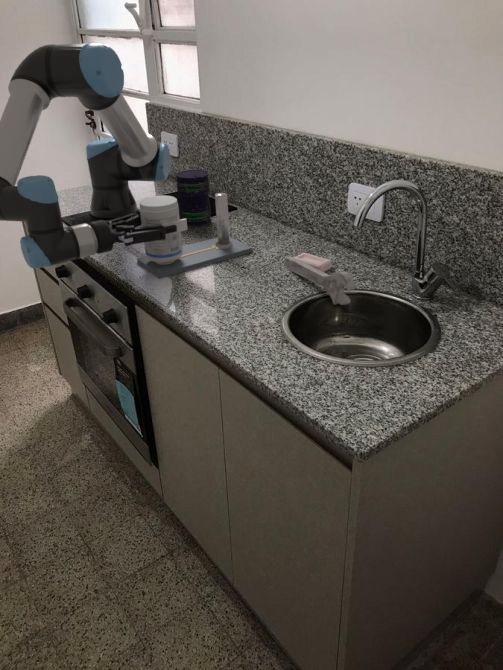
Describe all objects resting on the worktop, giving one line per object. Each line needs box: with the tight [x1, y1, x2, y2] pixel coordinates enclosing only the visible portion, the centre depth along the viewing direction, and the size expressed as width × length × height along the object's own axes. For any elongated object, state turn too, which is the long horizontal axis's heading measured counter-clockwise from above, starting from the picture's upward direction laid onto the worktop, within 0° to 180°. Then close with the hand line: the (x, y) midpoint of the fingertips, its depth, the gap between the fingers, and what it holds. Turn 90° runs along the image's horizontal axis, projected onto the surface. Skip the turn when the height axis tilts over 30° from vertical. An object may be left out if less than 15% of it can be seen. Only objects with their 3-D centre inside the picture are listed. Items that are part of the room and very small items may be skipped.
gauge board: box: [136, 235, 253, 279], centre depth 148 cm, size 13×28×1 cm, turn 125°
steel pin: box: [214, 192, 232, 248], centre depth 149 cm, size 5×5×14 cm
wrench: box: [284, 256, 356, 306], centre depth 128 cm, size 8×2×30 cm
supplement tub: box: [138, 194, 183, 262], centre depth 139 cm, size 10×10×15 cm
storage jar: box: [175, 169, 212, 228], centre depth 170 cm, size 10×10×15 cm
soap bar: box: [293, 252, 333, 273], centre depth 140 cm, size 5×9×2 cm, turn 49°
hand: (176, 219), depth 141 cm, fingers closed on supplement tub, 9 cm apart
